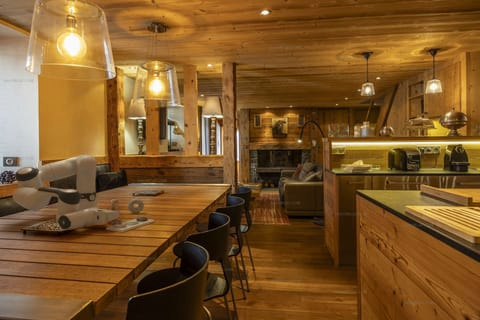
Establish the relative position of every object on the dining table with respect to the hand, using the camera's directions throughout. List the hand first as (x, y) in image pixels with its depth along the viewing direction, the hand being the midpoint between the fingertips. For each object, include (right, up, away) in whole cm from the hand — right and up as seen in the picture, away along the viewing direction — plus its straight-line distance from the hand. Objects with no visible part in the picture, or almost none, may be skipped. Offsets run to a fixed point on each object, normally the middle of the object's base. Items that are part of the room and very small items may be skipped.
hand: (113, 211), depth 169 cm
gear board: (+12, -7, -4) cm, 15 cm away
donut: (+3, -6, +28) cm, 29 cm away
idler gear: (0, -7, +1) cm, 7 cm away
